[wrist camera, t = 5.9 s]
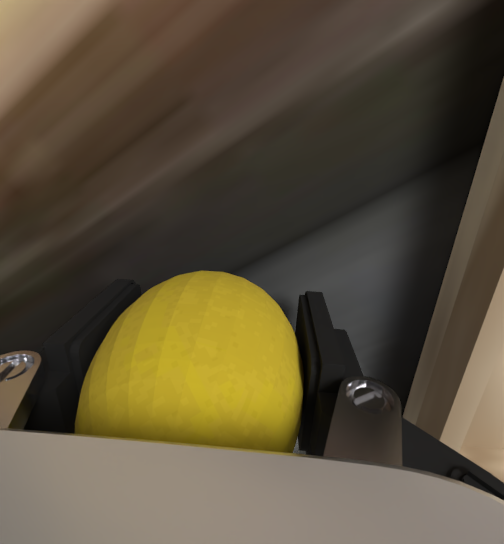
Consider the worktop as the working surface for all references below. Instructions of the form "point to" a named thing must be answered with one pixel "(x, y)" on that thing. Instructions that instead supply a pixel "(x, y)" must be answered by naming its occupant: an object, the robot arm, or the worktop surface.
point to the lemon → (198, 368)
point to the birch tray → (470, 325)
